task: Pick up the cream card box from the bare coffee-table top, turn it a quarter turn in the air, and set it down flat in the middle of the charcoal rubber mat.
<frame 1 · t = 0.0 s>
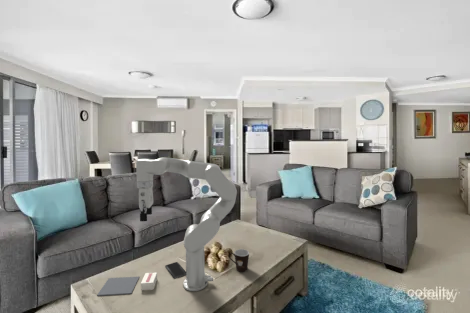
hand: (146, 217, 124), 37 cm above the table, tool pointing down, fingers open, 9 cm apart
mat: (119, 286, 128), on the table
phone: (175, 271, 143), on the table
coffee mug: (239, 268, 145), on the table
card box: (149, 284, 130), on the table
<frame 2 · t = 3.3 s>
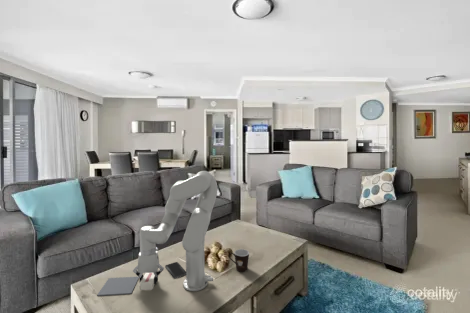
hand: (148, 283, 130), 1 cm above the table, tool pointing down, fingers closed on card box, 6 cm apart
card box: (148, 284, 130), on the table, touching gripper
everything else where it was.
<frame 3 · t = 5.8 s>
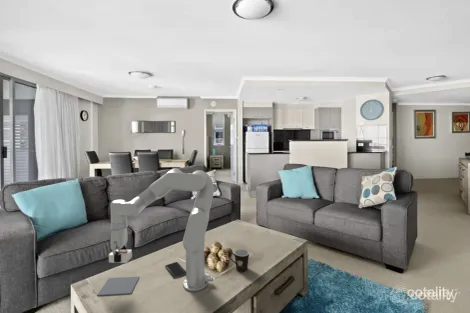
hand: (120, 258, 127), 15 cm above the table, tool pointing down, fingers closed on card box, 6 cm apart
card box: (120, 259, 127), point 14 cm above the table, touching gripper
everything else where it was.
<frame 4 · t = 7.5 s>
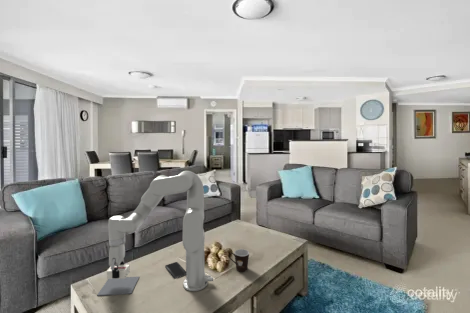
hand: (118, 273, 127), 7 cm above the table, tool pointing down, fingers closed on card box, 6 cm apart
card box: (118, 275, 128), point 6 cm above the table, touching gripper
everything else where it was.
when the fingers open (3 cm above the table, at t = 8.8 s): card box drops 1 cm, resting on mat.
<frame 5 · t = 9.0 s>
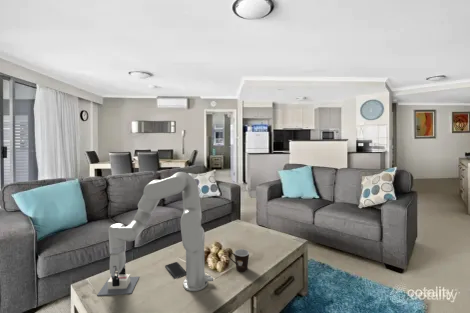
hand: (119, 280, 128), 3 cm above the table, tool pointing down, fingers open, 8 cm apart
card box: (119, 285, 128), resting on mat
everything else where it was.
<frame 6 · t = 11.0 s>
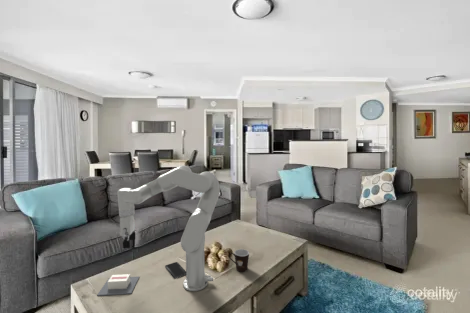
hand: (129, 243, 131), 21 cm above the table, tool pointing down, fingers open, 9 cm apart
nothing on the table moved.
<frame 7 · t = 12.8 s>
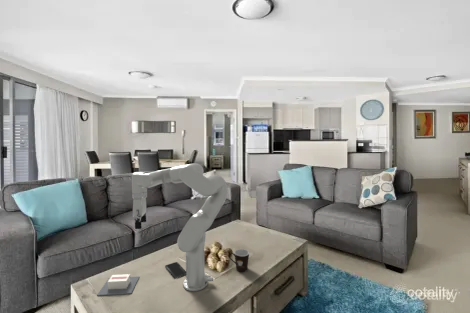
hand: (140, 225, 136), 28 cm above the table, tool pointing down, fingers open, 9 cm apart
nothing on the table moved.
at the end: card box inside the target area on the mat (0.1 cm from its centre), point 0.5 cm above the mat's base; card box tilted 0°; the gripper is holding nothing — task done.
